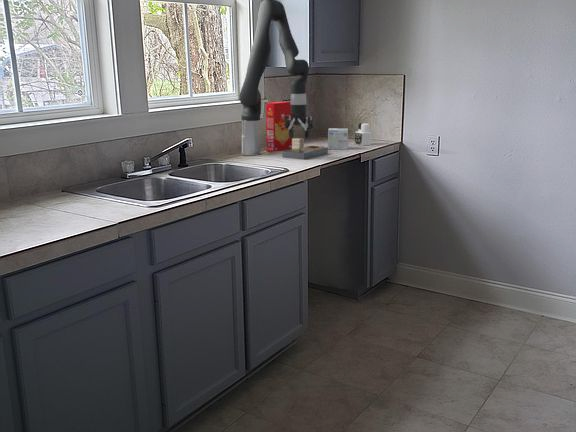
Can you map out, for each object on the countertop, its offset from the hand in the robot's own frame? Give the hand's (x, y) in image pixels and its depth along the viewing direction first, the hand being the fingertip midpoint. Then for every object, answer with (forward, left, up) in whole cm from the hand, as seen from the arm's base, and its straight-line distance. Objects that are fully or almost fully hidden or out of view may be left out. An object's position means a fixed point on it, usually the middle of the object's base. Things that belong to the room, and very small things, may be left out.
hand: (299, 138), depth 280 cm
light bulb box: (+27, +30, -11) cm, 42 cm away
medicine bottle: (+45, +42, -11) cm, 63 cm away
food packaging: (-5, +30, -11) cm, 32 cm away
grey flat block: (+4, +5, -10) cm, 12 cm away
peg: (-1, 0, -9) cm, 9 cm away
